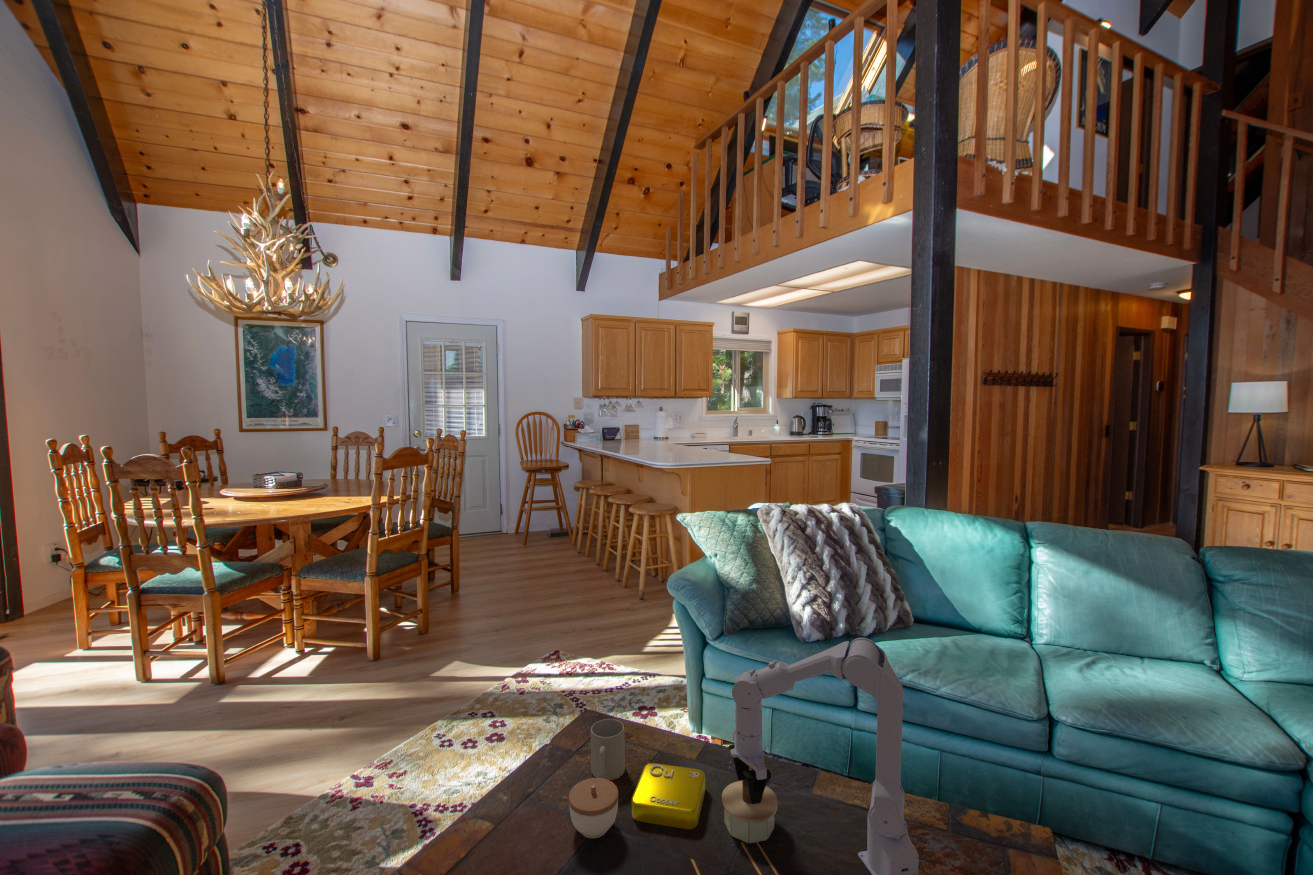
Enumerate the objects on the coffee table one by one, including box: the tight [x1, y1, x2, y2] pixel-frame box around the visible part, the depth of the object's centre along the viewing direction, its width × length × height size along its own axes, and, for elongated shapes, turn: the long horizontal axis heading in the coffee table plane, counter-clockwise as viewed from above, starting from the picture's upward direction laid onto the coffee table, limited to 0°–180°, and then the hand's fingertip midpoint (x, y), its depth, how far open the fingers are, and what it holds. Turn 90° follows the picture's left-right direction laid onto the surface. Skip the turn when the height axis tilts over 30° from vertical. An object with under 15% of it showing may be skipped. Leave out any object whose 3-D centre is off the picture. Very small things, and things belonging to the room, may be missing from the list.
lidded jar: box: [568, 777, 619, 839], centre depth 122 cm, size 11×11×9 cm
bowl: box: [723, 808, 775, 844], centre depth 123 cm, size 10×10×5 cm
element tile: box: [631, 762, 706, 830], centre depth 130 cm, size 15×15×5 cm
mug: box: [590, 718, 626, 781], centre depth 140 cm, size 12×8×11 cm
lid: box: [721, 779, 779, 823], centre depth 122 cm, size 12×12×4 cm
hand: (749, 790), depth 122 cm, fingers open, 7 cm apart
